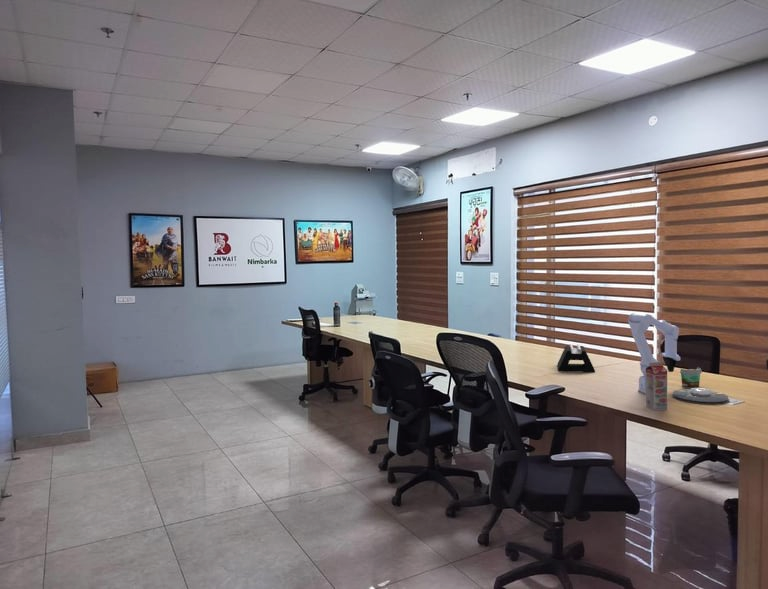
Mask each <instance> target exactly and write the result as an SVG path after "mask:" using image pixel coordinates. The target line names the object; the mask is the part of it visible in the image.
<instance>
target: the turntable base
mask: <svg viewBox="0 0 768 589" xmlns="http://www.w3.org/2000/svg"><path fill="white" fill-rule="evenodd" d="M671 397H672V398H673V399H675V400H677V401H680V402H683V403H684V402H685V403H688V404H690V403H691V404H696V405H708V406H709V405H725V404H728V403H729V402H730V398H728V401H726V402H720V403H702V402H693V401H687V400H682V399H679V398H676V397H674V396H673V393H671Z"/></svg>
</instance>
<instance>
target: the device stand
mask: <svg viewBox="0 0 768 589" xmlns="http://www.w3.org/2000/svg"><path fill="white" fill-rule="evenodd" d="M570 361H582V362H583V363H570ZM557 371H558V372H568V371H583V372H582V373H595V372H596V370H595V367H594V365H593V363H592V361H591V359H590V358H589V355H588V353H587V351H586V349H585V347H584V345H580V344H579V343H578V344H576V347H574V346H573V344H572V343H570V344H569V345H566V346H565V347H564V349H563V351H562V353H561V355H560V358H559V360H558V362H557Z"/></svg>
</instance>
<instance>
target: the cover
mask: <svg viewBox="0 0 768 589" xmlns="http://www.w3.org/2000/svg"><path fill="white" fill-rule="evenodd" d="M689 389H690V394H691V395H694V396H699V397H709V396H711V391H712V390H711V389H709V388H704V387H698V388H689Z"/></svg>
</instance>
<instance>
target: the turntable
mask: <svg viewBox="0 0 768 589" xmlns="http://www.w3.org/2000/svg"><path fill="white" fill-rule="evenodd" d="M690 389H691V388H687V389H686V388H684V389H683V388H682V389H676V390H673V391H672V394H673V396H674V397H676V398H679V399H682V400H687V401H693V402H702V403H720V402H726V401H728V399H729V396H728V395H727V394H725V393H722V392H719V391H714V390H711V396H709V397H699V396H694V395H691V394H690Z"/></svg>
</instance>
